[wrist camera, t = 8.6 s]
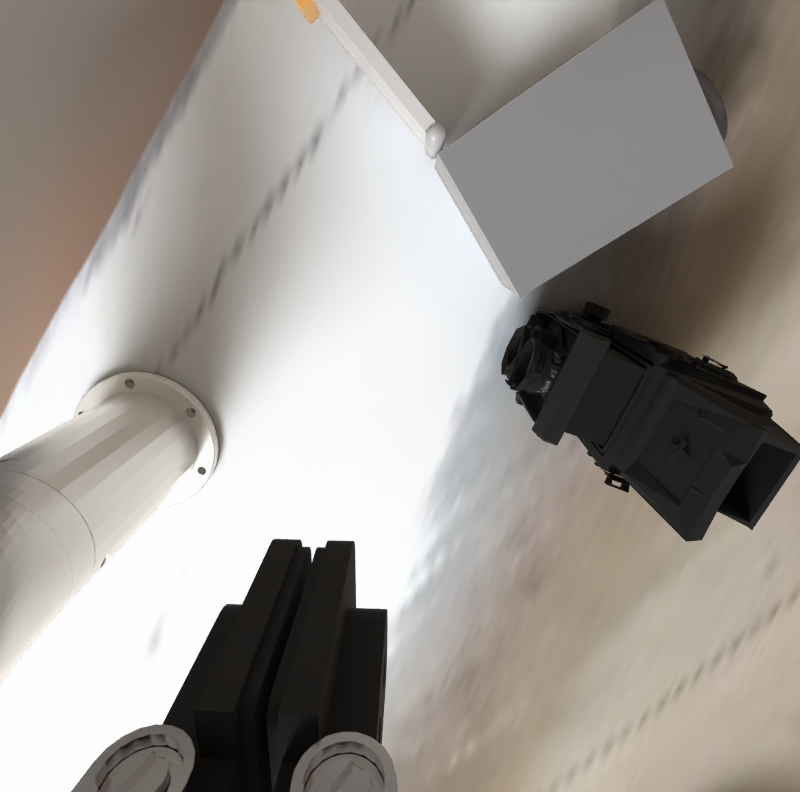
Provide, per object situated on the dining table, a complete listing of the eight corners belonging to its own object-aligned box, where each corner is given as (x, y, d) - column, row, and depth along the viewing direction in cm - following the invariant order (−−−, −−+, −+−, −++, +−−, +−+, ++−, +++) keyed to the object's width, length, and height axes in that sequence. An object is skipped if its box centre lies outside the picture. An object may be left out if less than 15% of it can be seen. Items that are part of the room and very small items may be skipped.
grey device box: (501, 284, 40) (519, 297, 32) (433, 165, 38) (435, 149, 30) (686, 169, 37) (754, 153, 29) (624, 31, 34) (682, -25, 27)
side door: (445, 150, 36) (450, 134, 30) (426, 168, 37) (427, 156, 31) (326, 2, 34) (305, -48, 28) (307, 24, 34) (282, -21, 28)
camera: (527, 276, 40) (622, 322, 21) (682, 337, 41) (911, 434, 22) (476, 390, 43) (518, 520, 24) (622, 444, 44) (775, 611, 25)
